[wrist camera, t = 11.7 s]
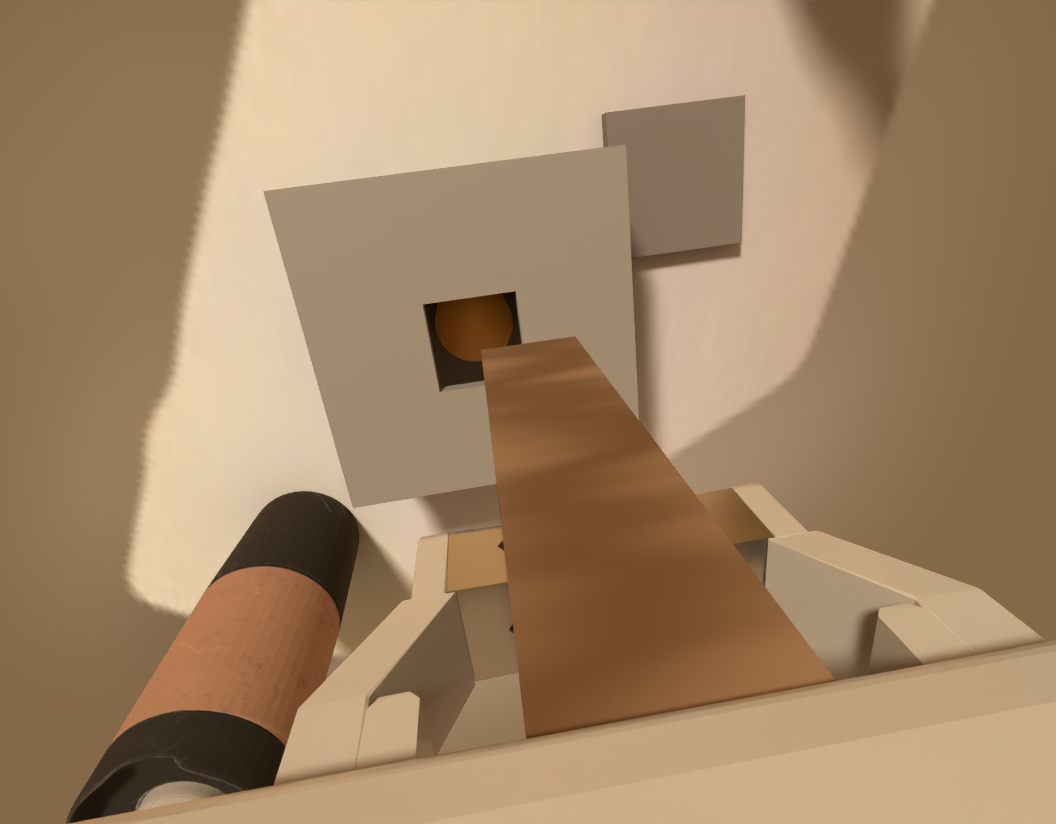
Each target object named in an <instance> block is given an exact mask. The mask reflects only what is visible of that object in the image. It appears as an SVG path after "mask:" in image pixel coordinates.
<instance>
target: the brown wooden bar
mask: <svg viewBox="0 0 1056 824" xmlns="http://www.w3.org/2000/svg"><path fill="white" fill-rule="evenodd" d="M481 356H482V364H483V373H484V381H485V390H486V398H487V407H488V415H489V424H490V433H491V441H492V450H493V458H494V467H495V475H496V484H497V492H498V501H499V510H500V518H501V527H502V535H503V544H504V552H505V561H506V569H507V578H508V587H509V595H510V604H511V612H512V621H513V629H514V638H515V646H516V655H517V664H518V672H519V681H520V689H521V698H522V706H523V715H524V723H525V732H526V739H528V738H533V737H538V736H544V735H549V734H555V733H560V732H565V731H571V730H576V729H581V728H587V727H592V726H597V725H603V724H608V723H613V722H619V721H624V720H630V719H635V718H640V717H646V716H651V715H656V714H662V713H667V712H672V711H678V710H683V709H688V708H694V707H699V706H705V705H710V704H715V703H721V702H726V701H731V700H737V699H742V698H747V697H753V696H758V695H763V694H769V693H774V692H780V691H785V690H791V689H796V688H801V687H807V686H812V685H818V684H823V683H829V682H834V681H836V680H835V678H834V677H833V676H832V674H831V673H830V672H829V670H828V669H827V668H826V667H825V665H824V664H823V663H822V661H821V660H820V659H819V657H818V656H817V655H816V653H815V652H814V651H813V649H812V648H811V647H810V645H809V644H808V643H807V641H806V640H805V639H804V638H803V636H802V635H801V634H800V632H799V631H798V630H797V628H796V627H795V626H794V624H793V623H792V622H791V620H790V619H789V618H788V616H787V615H786V614H785V612H784V611H783V610H782V609H781V607H780V606H779V605H778V603H777V602H776V601H775V599H774V598H773V597H772V595H771V594H770V593H769V591H768V590H767V589H766V587H765V586H764V585H763V583H762V582H761V581H760V579H759V578H758V577H757V576H756V574H755V573H754V572H753V570H752V569H751V568H750V566H749V565H748V564H747V562H746V561H745V560H744V558H743V557H742V556H741V554H740V553H739V552H738V550H737V549H736V548H735V547H734V545H733V544H732V543H731V541H730V540H729V539H728V537H727V536H726V535H725V533H724V532H723V531H722V529H721V528H720V527H719V525H718V524H717V523H716V521H715V520H714V519H713V517H712V516H711V515H710V514H709V512H708V511H707V510H706V508H705V507H704V506H703V504H702V503H701V502H700V500H699V499H698V498H697V496H696V495H695V494H694V492H693V491H692V490H691V488H690V487H689V486H688V485H687V483H686V482H685V481H684V479H683V478H682V477H681V475H680V474H679V473H678V471H677V470H676V469H675V467H674V466H673V465H672V463H671V462H670V461H669V459H668V458H667V457H666V456H665V454H664V453H663V452H662V450H661V449H660V448H659V446H658V445H657V444H656V442H655V441H654V440H653V438H652V437H651V436H650V434H649V433H648V432H647V430H646V429H645V428H644V426H643V425H642V424H641V423H640V421H639V420H638V419H637V417H636V416H635V415H634V413H633V412H632V411H631V409H630V408H629V407H628V405H627V404H626V403H625V401H624V400H623V399H622V397H621V396H620V395H619V394H618V392H617V391H616V390H615V388H614V387H613V386H612V384H611V383H610V382H609V380H608V379H607V378H606V376H605V375H604V374H603V372H602V371H601V370H600V368H599V367H598V366H597V364H596V363H595V362H594V361H593V359H592V358H591V357H590V355H589V354H588V353H587V351H586V350H585V349H584V347H583V346H582V345H581V343H580V342H579V341H578V339H577V338H576V337H575V336H573V337H566V338H560V339H553V340H546V341H539V342H532V343H525V344H518V345H511V346H504V347H497V348H490V349H484V350H481Z"/></svg>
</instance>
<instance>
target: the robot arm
mask: <svg viewBox="0 0 1056 824" xmlns="http://www.w3.org/2000/svg"><path fill="white" fill-rule="evenodd" d="M695 495H696V496H697V498H698V499H699V500H700V502H701V503H702V504H703V506H704V507H705V508H706V510H707V511H708V512H709V514H710V515H711V516H712V517H713V519H714V520H715V521H716V523H717V524H718V525H719V527H720V528H721V529H722V531H723V532H724V533H725V535H726V536H727V537H728V539H729V540H730V541H731V543H732V544H733V545H734V547H735V548H736V549H737V550H738V552H739V553H740V554H741V556H742V557H743V558H744V560H745V561H746V562H747V564H748V565H749V566H750V568H751V569H752V570H753V572H754V573H755V574H756V576H757V577H758V578H759V579H760V581H761V582H762V583H763V585H764V586H765V587H766V589H767V590H768V591H769V593H770V594H771V595H772V597H773V598H774V599H775V601H776V602H777V603H778V605H779V606H780V607H781V609H782V610H783V611H784V612H785V614H786V615H787V616H788V618H789V619H790V620H791V622H792V623H793V624H794V626H795V627H796V628H797V630H798V631H799V632H800V634H801V635H802V636H803V638H804V639H805V640H806V641H807V643H808V644H809V645H810V647H811V648H812V649H813V651H814V652H815V653H816V655H817V656H818V657H819V659H820V660H821V661H822V663H823V664H824V665H825V667H826V668H827V669H828V670H829V672H830V673H831V674H832V676H833V677H834V678H835V680H836V681H834V682H829V683H823V684H818V685H812V686H807V687H801V688H796V689H791V690H785V691H780V692H774V693H769V694H763V695H758V696H753V697H747V698H742V699H737V700H731V701H726V702H721V703H715V704H710V705H705V706H699V707H694V708H688V709H683V710H678V711H672V712H667V713H662V714H656V715H651V716H646V717H640V718H635V719H630V720H624V721H619V722H613V723H608V724H603V725H597V726H592V727H587V728H581V729H576V730H571V731H565V732H560V733H555V734H549V735H544V736H538V737H533V738H528V739H522V740H518V741H512V742H506V743H501V744H495V745H491V746H484V747H479V748H474V749H468V750H463V751H458V752H453V753H447V754H441V755H437V754H438V752H439V750H440V748H441V746H442V744H443V743H444V741H445V739H446V737H447V735H448V733H449V732H450V730H451V728H452V726H453V724H454V722H455V721H456V719H457V717H458V715H459V713H460V711H461V709H462V708H463V705H464V704H465V702H466V700H467V698H468V697H469V695H470V693H471V691H472V689H473V688H474V686H475V681H479V680H484V679H489V678H494V677H498V676H504V675H508V674H513V673H517V672H518V664H517V655H516V646H515V638H514V629H513V621H512V612H511V604H510V595H509V587H508V578H507V569H506V561H505V552H504V544H503V535H502V527H501V526H494V527H487V528H480V529H473V530H466V531H459V532H452V533H450V534H448V533H444V534H438V535H432V536H427V537H421V539H420V540H419V542H418V548H417V556H416V564H415V572H414V580H413V588H412V595H411V599H409V600H403V601H402V602H401V603H400V604H399V605H398V606H397V607H396V608H395V609H394V610H393V611H392V612H391V613H390V614H389V615H388V616H387V617H386V618H385V619H384V620H383V621H382V622H381V623H380V625H379V626H378V627H377V628H376V629H375V630H374V631H373V632H372V633H371V634H370V635H369V636H368V637H367V638H366V639H365V640H364V641H363V642H362V643H361V644H360V645H359V646H358V647H357V648H356V649H355V650H354V651H353V652H352V653H351V654H350V656H349V657H348V658H347V659H346V660H345V661H344V662H343V663H342V664H341V665H340V666H339V667H338V668H337V669H336V670H335V671H334V672H333V673H332V674H331V675H330V676H329V677H328V678H327V679H326V680H325V681H324V682H323V683H322V684H321V686H320V687H319V688H318V689H317V690H316V691H315V692H314V693H313V694H312V695H311V696H310V697H309V698H308V699H307V700H306V701H305V702H304V703H303V704H302V705H301V706H300V707H299V708H298V710H297V713H296V717H295V720H294V723H293V726H292V729H291V732H290V735H289V739H288V742H287V745H286V748H285V751H284V754H283V757H282V760H281V764H280V767H279V770H278V773H277V776H276V779H275V782H274V786H269V787H263V788H258V789H252V790H247V791H242V792H236V793H231V794H225V795H220V796H215V797H209V798H204V799H198V800H193V801H188V802H182V803H177V804H171V805H166V806H161V807H155V808H150V809H144V810H139V811H133V812H128V813H123V814H117V815H112V816H106V817H101V818H95V819H90V820H85V821H79V822H74V823H68V824H1056V640H1055V641H1050V642H1047V641H1046V640H1045V639H1043V638H1042V637H1041V636H1039V635H1038V634H1037V633H1036V632H1034V631H1033V630H1032V629H1030V628H1029V627H1028V626H1027V625H1025V624H1024V623H1023V622H1022V621H1020V620H1019V619H1018V618H1016V617H1015V616H1014V615H1012V614H1011V613H1010V612H1009V611H1007V610H1006V609H1005V608H1004V607H1002V606H1001V605H1000V604H998V603H997V602H996V601H995V600H993V599H992V598H990V597H989V596H988V595H987V594H985V593H984V592H983V591H982V590H980V589H979V588H976V587H973V586H971V585H968V584H965V583H962V582H959V581H957V580H954V579H951V578H948V577H945V576H943V575H940V574H937V573H934V572H931V571H928V570H926V569H923V568H920V567H917V566H914V565H912V564H909V563H906V562H903V561H900V560H898V559H895V558H892V557H889V556H886V555H883V554H881V553H877V552H875V551H872V550H870V549H867V548H864V547H861V546H858V545H855V544H853V543H850V542H847V541H844V540H841V539H839V538H836V537H833V536H830V535H827V534H825V533H822V532H819V531H813V532H808V531H807V530H805V528H804V527H803V526H802V525H800V523H798V522H797V521H796V520H795V519H794V518H793V517H792V516H791V515H790V514H789V513H788V512H787V511H786V510H785V509H784V508H783V507H782V506H781V505H780V504H779V503H778V502H777V501H776V500H775V499H774V498H773V497H772V496H771V495H770V494H769V493H768V492H767V491H766V490H765V489H764V488H763V487H762V486H761V485H759V484H756V483H751V484H746V485H741V486H736V487H731V488H727V489H722V490H717V491H711V492H706V493H700V494H695Z"/></svg>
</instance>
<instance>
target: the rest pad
mask: <svg viewBox="0 0 1056 824" xmlns="http://www.w3.org/2000/svg"><path fill="white" fill-rule="evenodd" d="M744 121H745V96H737V97H729V98H721V99H713V100H704V101H696V102H688V103H680V104H672V105H664V106H656V107H648V108H640V109H632V110H624V111H616V112H608V113H605V114H603V115H602V127H603V143H604V147H612V146H620V145H626V158H627V179H628V199H629V220H630V241H631V258H636V257H643V256H650V255H657V254H664V253H671V252H679V251H686V250H693V249H700V248H707V247H714V246H721V245H728V244H735V243H741V239H742V200H743V160H744Z"/></svg>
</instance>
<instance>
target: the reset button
mask: <svg viewBox="0 0 1056 824" xmlns="http://www.w3.org/2000/svg"><path fill="white" fill-rule="evenodd" d="M435 328H436V333H437V336H438V338H439V340H440V342H441V344H442V345H443V346H444V348H445V349H446V350H447V351H448V352H450V353H451V354H452V355H454V356H456V357H458V358H460V359H463V360H467V361H482V356H481V350H484V349H490V348H497V347H504V346H506V344H507V343H508V341H509V339H510V337H511V334H512V329H513V317H512V313H511V310H510V307H509V305H508V303H507V301H506V299H505V297H504V295H503V294H502V293H499V294H492V295H486V296H479V297H472V298H465V299H458V300H451V301H444V302H438V306H437V311H436V317H435Z"/></svg>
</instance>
